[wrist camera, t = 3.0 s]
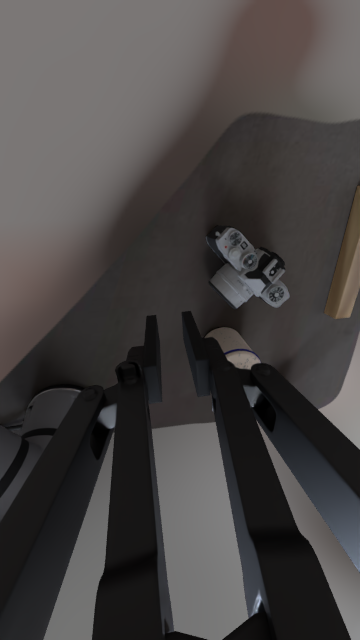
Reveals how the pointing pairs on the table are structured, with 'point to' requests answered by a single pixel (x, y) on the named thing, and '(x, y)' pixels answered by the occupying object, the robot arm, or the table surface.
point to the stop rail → (347, 268)
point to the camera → (245, 269)
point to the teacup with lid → (234, 347)
